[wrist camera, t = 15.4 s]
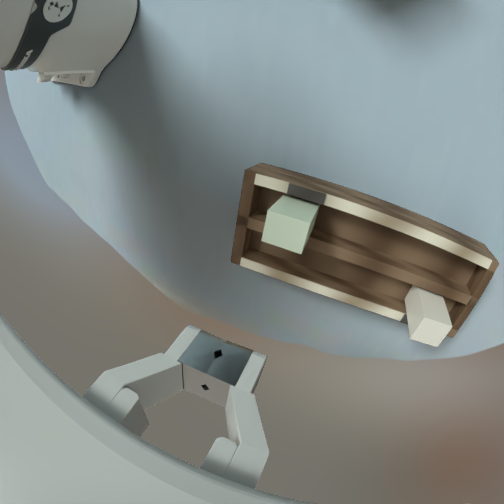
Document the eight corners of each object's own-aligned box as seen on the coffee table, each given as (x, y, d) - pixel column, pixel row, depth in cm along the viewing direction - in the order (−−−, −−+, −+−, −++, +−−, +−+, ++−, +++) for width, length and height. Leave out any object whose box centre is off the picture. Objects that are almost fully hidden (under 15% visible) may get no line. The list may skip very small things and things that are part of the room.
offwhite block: (404, 299, 23) (409, 338, 19) (415, 279, 22) (424, 317, 17) (428, 307, 23) (437, 347, 18) (440, 288, 21) (452, 326, 17)
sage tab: (281, 215, 24) (261, 241, 20) (287, 190, 23) (267, 210, 18) (314, 226, 24) (301, 254, 19) (321, 200, 22) (310, 223, 18)
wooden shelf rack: (246, 244, 30) (229, 262, 26) (261, 162, 25) (244, 170, 22) (445, 313, 24) (452, 338, 21) (484, 244, 20) (499, 264, 16)
